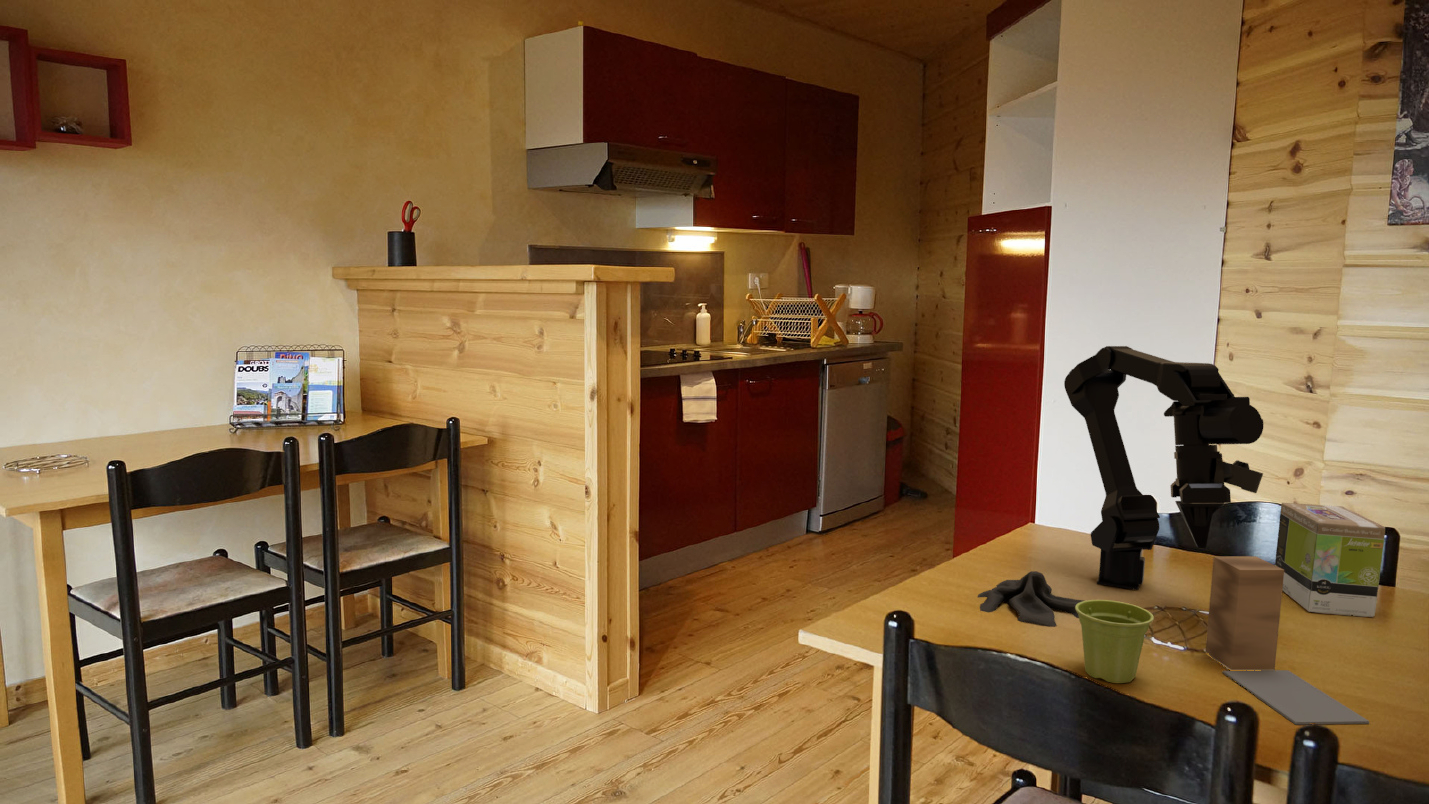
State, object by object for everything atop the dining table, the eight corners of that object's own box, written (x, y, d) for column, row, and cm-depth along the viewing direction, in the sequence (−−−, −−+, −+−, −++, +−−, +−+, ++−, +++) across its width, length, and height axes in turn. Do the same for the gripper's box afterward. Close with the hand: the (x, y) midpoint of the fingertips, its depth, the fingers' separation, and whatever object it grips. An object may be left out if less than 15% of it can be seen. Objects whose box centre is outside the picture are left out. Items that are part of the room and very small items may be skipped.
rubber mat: (1222, 673, 124) (1222, 670, 124) (1287, 672, 125) (1288, 670, 125) (1295, 724, 110) (1295, 722, 110) (1369, 723, 110) (1369, 721, 110)
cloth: (1023, 580, 163) (1025, 546, 163) (1118, 613, 148) (1121, 576, 147) (931, 602, 152) (933, 565, 151) (1024, 641, 136) (1026, 600, 135)
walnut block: (1205, 653, 131) (1213, 556, 129) (1246, 653, 131) (1255, 556, 129) (1231, 671, 125) (1240, 569, 123) (1274, 671, 125) (1284, 569, 123)
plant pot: (1059, 660, 128) (1063, 599, 126) (1125, 659, 128) (1129, 598, 127) (1092, 690, 118) (1096, 624, 117) (1163, 689, 119) (1168, 623, 118)
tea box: (1378, 619, 146) (1388, 526, 144) (1306, 613, 148) (1315, 522, 146) (1335, 588, 160) (1344, 503, 158) (1270, 583, 162) (1278, 500, 160)
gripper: (1268, 443, 132) (1274, 555, 131) (1245, 443, 149) (1251, 542, 148) (1180, 445, 135) (1185, 554, 135) (1168, 445, 153) (1173, 541, 152)
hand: (1201, 548), depth 142 cm, fingers closed
